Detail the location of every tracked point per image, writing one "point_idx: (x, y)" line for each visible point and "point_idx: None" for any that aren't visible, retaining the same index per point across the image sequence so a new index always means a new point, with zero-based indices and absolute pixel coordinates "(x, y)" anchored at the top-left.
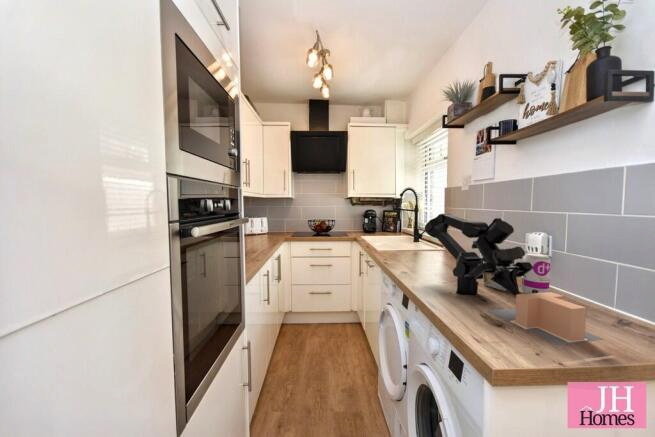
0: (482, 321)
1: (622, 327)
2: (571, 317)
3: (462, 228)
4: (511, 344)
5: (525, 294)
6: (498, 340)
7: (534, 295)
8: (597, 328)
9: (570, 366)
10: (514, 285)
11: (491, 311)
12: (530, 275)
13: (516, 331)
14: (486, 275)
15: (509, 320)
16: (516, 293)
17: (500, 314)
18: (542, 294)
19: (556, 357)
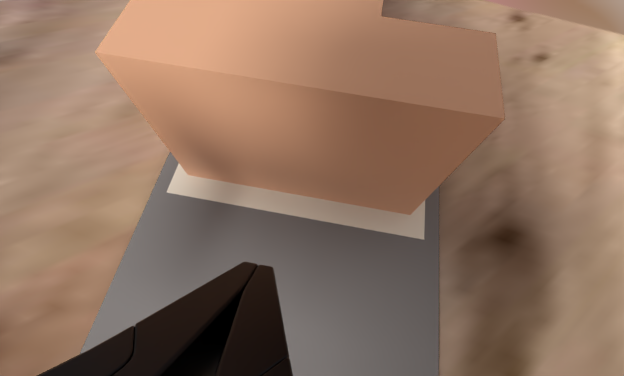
0: (567, 311)
1: (4, 43)
2: None
3: None
4: (583, 114)
5: (414, 92)
6: (615, 147)
7: (360, 53)
8: (106, 69)
9: (502, 6)
10: (214, 328)
11: None
12: None
13: (473, 167)
14: None
15: (416, 245)
16: (274, 275)
17: (391, 330)
18: (257, 46)
19: (498, 33)
